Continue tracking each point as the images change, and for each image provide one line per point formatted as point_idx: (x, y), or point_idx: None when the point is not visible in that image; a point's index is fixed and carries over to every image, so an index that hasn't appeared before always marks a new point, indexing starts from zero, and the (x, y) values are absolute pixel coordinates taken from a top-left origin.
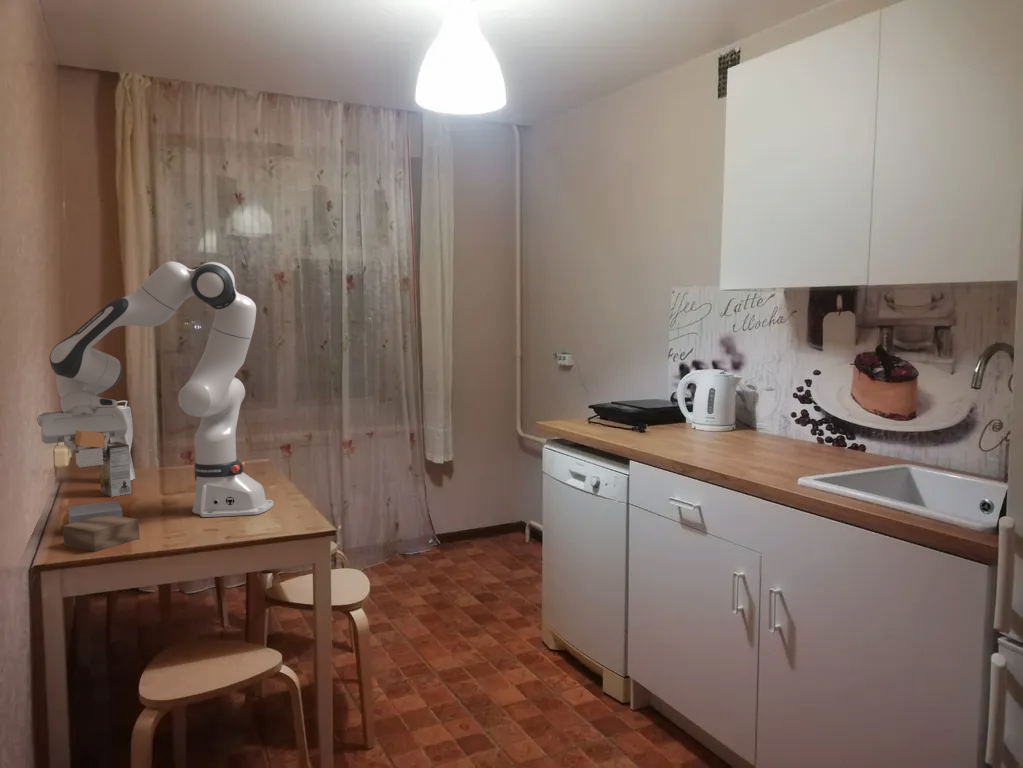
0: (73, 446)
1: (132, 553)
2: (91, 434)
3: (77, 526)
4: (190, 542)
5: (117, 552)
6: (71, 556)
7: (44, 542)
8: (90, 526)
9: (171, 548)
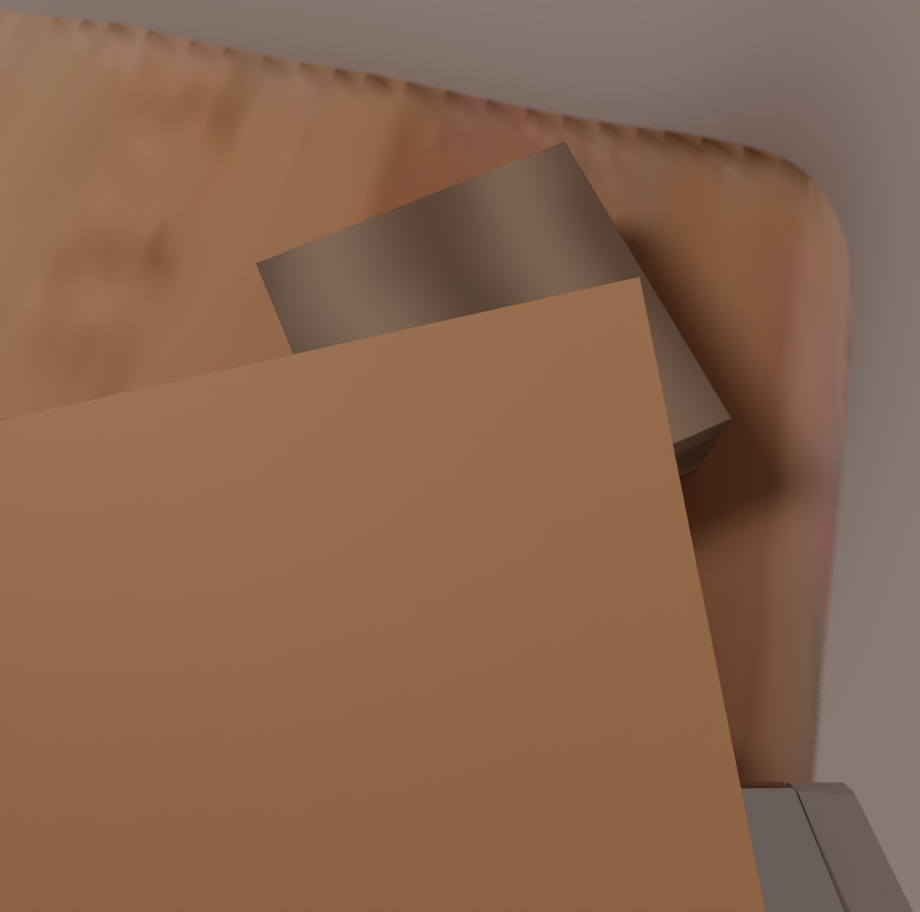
0: (812, 876)
1: (402, 92)
2: (241, 400)
3: None
4: (115, 101)
5: (459, 149)
6: (675, 218)
7: (811, 639)
8: (562, 273)
9: (227, 62)
